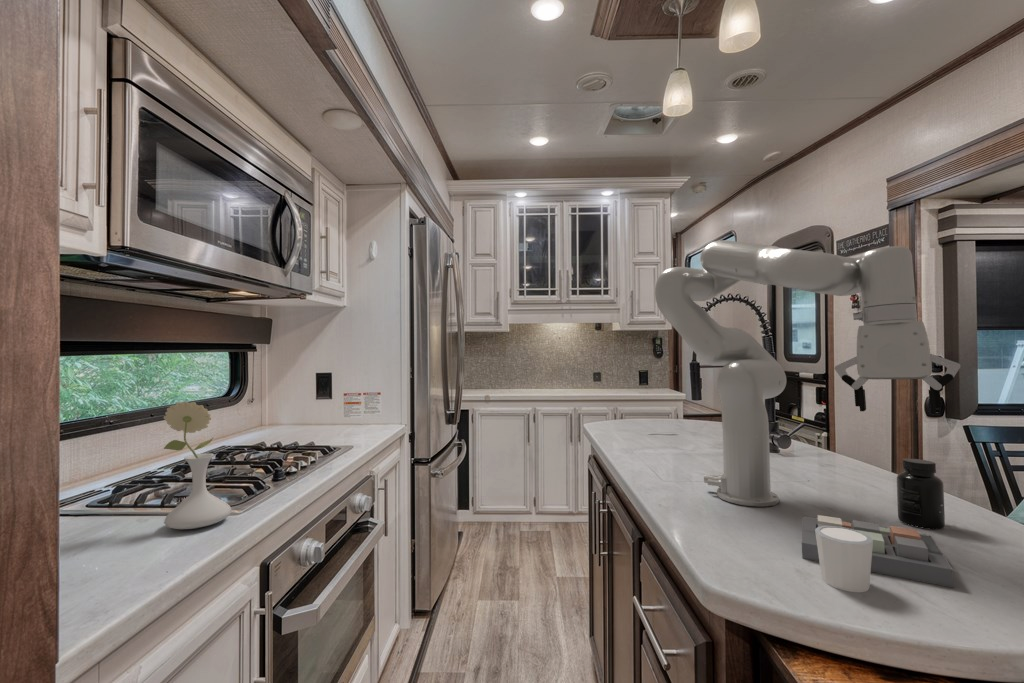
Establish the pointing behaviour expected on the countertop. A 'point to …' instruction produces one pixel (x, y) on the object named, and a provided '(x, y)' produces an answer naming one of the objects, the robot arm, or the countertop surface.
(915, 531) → the key terracotta
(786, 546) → the countertop surface
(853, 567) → the white oval cup
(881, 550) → the key sage
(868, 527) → the keypad
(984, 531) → the countertop surface
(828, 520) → the key cream
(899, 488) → the supplement bottle
